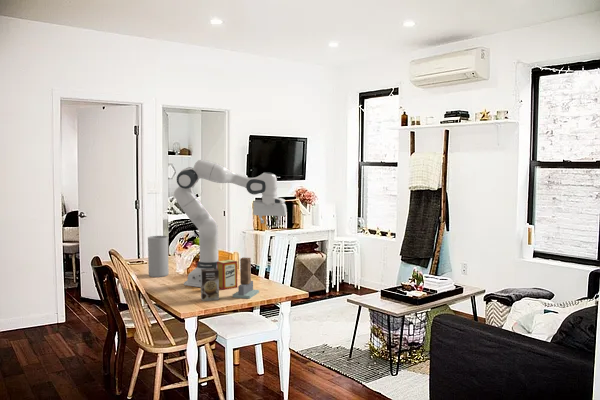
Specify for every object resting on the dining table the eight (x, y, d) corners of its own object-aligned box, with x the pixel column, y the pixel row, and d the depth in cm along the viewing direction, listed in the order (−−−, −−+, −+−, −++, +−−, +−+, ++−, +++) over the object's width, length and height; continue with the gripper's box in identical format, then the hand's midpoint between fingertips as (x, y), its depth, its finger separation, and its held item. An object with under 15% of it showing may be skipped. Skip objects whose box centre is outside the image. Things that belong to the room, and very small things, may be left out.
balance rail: (232, 297, 300) (232, 285, 299) (242, 291, 313) (242, 280, 313) (249, 298, 297) (249, 286, 296) (258, 292, 310) (258, 281, 310)
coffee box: (202, 301, 292) (201, 271, 290) (201, 298, 298) (200, 268, 297) (219, 300, 294) (218, 270, 293) (217, 297, 300) (217, 267, 299)
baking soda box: (223, 289, 317) (223, 262, 316) (217, 287, 322) (217, 260, 321) (237, 287, 323) (237, 260, 322) (231, 285, 328) (231, 258, 327)
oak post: (240, 283, 303) (240, 258, 302) (243, 282, 307) (243, 257, 306) (248, 284, 302) (247, 259, 301) (250, 282, 306) (250, 257, 305)
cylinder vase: (165, 277, 350) (164, 238, 348) (146, 277, 351) (145, 238, 349) (170, 273, 363) (169, 235, 361) (151, 273, 363) (151, 235, 361)
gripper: (251, 200, 324) (251, 223, 325) (284, 200, 319) (284, 224, 320) (255, 199, 330) (255, 222, 331) (287, 199, 325) (287, 223, 326)
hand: (269, 223), depth 325 cm, fingers open, 8 cm apart
